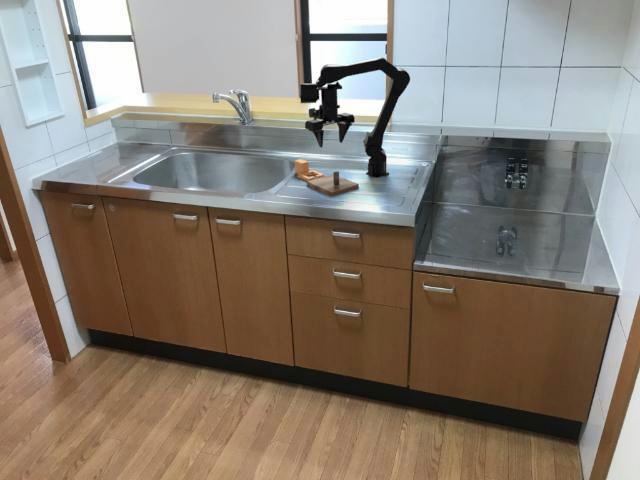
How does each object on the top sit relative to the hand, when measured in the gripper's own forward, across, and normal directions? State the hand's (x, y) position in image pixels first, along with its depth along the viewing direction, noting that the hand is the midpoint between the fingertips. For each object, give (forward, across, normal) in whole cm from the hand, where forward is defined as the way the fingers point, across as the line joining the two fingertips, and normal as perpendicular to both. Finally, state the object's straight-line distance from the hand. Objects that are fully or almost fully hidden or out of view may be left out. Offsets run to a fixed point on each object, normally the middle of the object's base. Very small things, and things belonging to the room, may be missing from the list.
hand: (331, 144), depth 191 cm
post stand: (+12, +7, +10) cm, 17 cm away
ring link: (+12, +7, -7) cm, 15 cm away
